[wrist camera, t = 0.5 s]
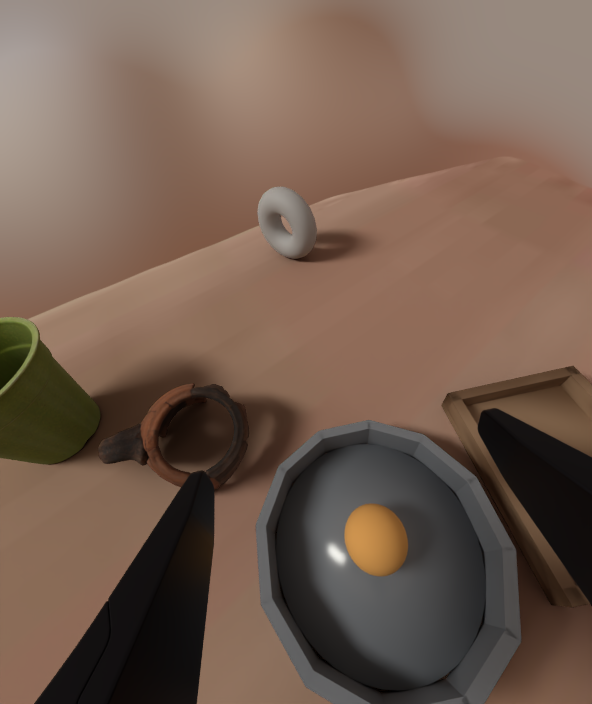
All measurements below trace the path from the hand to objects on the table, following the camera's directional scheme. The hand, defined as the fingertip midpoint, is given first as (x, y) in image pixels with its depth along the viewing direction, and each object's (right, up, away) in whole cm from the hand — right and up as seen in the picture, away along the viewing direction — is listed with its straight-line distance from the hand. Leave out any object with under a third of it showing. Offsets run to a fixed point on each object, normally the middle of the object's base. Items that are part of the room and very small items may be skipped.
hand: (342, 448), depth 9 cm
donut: (-2, +18, +36) cm, 40 cm away
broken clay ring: (-11, -6, +19) cm, 22 cm away
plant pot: (-26, -6, +22) cm, 34 cm away
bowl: (+4, -11, +12) cm, 16 cm away
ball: (+4, -10, +11) cm, 16 cm away
